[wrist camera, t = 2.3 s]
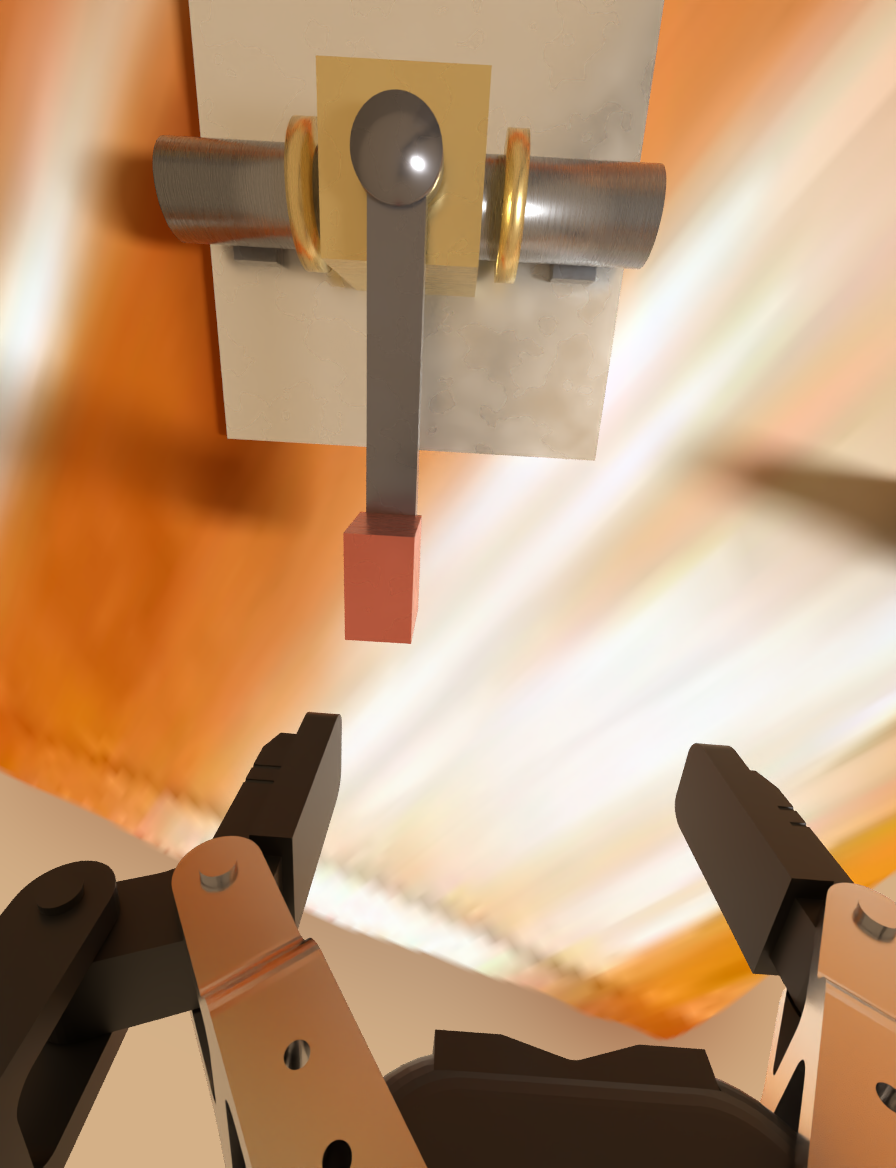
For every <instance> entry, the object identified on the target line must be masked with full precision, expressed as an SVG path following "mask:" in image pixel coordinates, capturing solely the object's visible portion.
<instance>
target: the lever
mask: <svg viewBox="0 0 896 1168" xmlns="http://www.w3.org/2000/svg"><path fill="white" fill-rule="evenodd" d="M350 155H351V161H352V165H353V168H354V170H355V173H356V175H357V177H358V179H359V181H360V183H361V185H362V187H363V189H364V191H365V193H366V194H367V472H366V512H360V513H359V515H358V516H357V517H356V518H355V520H354V521H353V522H352V523H351V524H350V526H349V527H348V528H347V529H346V531H345V532H344V600H345V640H359V641H375V642H391V643H407V644H411V641H412V636H413V631H414V626H415V621H416V616H417V611H418V596H419V570H420V544H421V518H422V516H421V515H417V497H418V469H419V440H420V412H421V384H422V356H423V327H424V299H425V271H426V243H427V214H428V204H429V203H430V202H431V201H432V200H433V198H434V197H435V195H436V194H437V192H438V190H439V187H440V185H441V182H442V178H443V172H444V155H443V143H442V135H441V131H440V127H439V124H438V122H437V119H436V117H435V115H434V114H433V112H432V111H431V109H430V108H429V107H428V105H427V104H426V103H425V102H424V101H423V100H422V99H420V98H419V97H418V96H416V95H414V94H412V93H410V92H408V91H404V90H398V89H391V90H386V91H383V92H380V93H378V94H376V95H374V96H373V97H371V98H370V99H369V100H368V101H367V102H366V103H365V104H364V105H363V106H362V107H361V109H360V110H359V112H358V114H357V115H356V117H355V120H354V122H353V126H352V129H351V135H350Z"/></svg>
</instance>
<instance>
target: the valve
mask: <svg viewBox="0 0 896 1168" xmlns="http://www.w3.org/2000/svg"><path fill="white" fill-rule="evenodd" d="M663 5H664V0H189V11H190V22H191V34H192V45H193V56H194V68H195V79H196V90H197V101H198V113H199V124H200V135H201V137H187V136H169V135H162V136H160V137H159V138H158V139H157V141H156V143H155V146H154V151H153V176H154V183H155V188H156V193H157V197H158V200H159V204H160V207H161V210H162V212H163V215H164V217H165V219H166V222H167V224H168V225H169V227H170V229H171V231H172V232H173V233H174V235H175V236H176V237H177V238H178V239H179V240H180V241H182V242H184V243H196V244H210V248H211V259H212V271H213V282H214V293H215V304H216V316H217V327H218V338H219V350H220V361H221V372H222V383H223V395H224V406H225V417H226V429H227V438H228V439H245V440H261V441H278V442H295V443H311V444H328V445H345V446H361V447H367V194H366V193H365V191H364V189H363V187H362V185H361V183H360V181H359V179H358V177H357V175H356V173H355V170H354V168H353V165H352V161H351V155H350V135H351V129H352V126H353V122H354V120H355V117H356V115H357V114H358V112H359V110H360V109H361V107H362V106H363V105H364V104H365V103H366V102H367V101H368V100H369V99H370V98H371V97H373V96H374V95H376V94H378V93H380V92H383V91H386V90H391V89H398V90H404V91H408V92H410V93H412V94H414V95H416V96H418V97H419V98H420V99H422V100H423V101H424V102H425V103H426V104H427V105H428V107H429V108H430V109H431V111H432V112H433V114H434V115H435V117H436V119H437V122H438V124H439V127H440V131H441V135H442V143H443V155H444V172H443V178H442V182H441V185H440V187H439V190H438V192H437V194H436V195H435V197H434V198H433V200H432V201H431V202H430V203H429V204H428V214H427V243H426V271H425V299H424V327H423V356H422V384H421V412H420V440H419V450H428V451H445V452H461V453H478V454H495V455H511V456H528V457H545V458H561V459H578V460H595V456H596V450H597V443H598V436H599V430H600V423H601V417H602V410H603V403H604V397H605V390H606V383H607V377H608V370H609V363H610V357H611V350H612V344H613V337H614V330H615V324H616V317H617V310H618V304H619V297H620V290H621V284H622V277H623V271H624V268H627V269H640V268H641V267H642V266H643V265H644V264H645V262H646V261H647V259H648V257H649V255H650V252H651V250H652V247H653V245H654V242H655V239H656V236H657V232H658V229H659V225H660V221H661V216H662V211H663V206H664V200H665V191H666V171H665V167H664V165H663V164H660V163H643V162H640V158H641V151H642V144H643V138H644V131H645V125H646V118H647V111H648V105H649V98H650V91H651V85H652V78H653V71H654V65H655V58H656V52H657V45H658V38H659V32H660V25H661V18H662V12H663Z"/></svg>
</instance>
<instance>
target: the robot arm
mask: <svg viewBox="0 0 896 1168" xmlns="http://www.w3.org/2000/svg"><path fill="white" fill-rule="evenodd" d="M341 735H342V720H341V715H340V714H328V713H315V712H307V713H306V715H305V717H304V719H303V721H302V723H301V726H300V728H299V730H298V732H297V734H290V733H280V734H279V735H277V736H276V737H275V738H274V739H272V740H271V741H270V742H269V743H267V744H266V745H265V746H264V747H263V748H262V750H261V752H260V754H259V755H258V757H257V759H256V761H255V763H254V766H253V768H251V770H250V772H249V774H248V775H247V777H246V781H245V782H244V783H243V784H242V786H241V788H240V790H239V792H238V794H237V795H236V797H235V799H234V801H233V803H232V805H231V806H230V808H229V810H228V812H227V814H226V815H225V817H224V819H223V821H222V823H221V825H220V826H219V828H218V830H217V832H216V834H215V835H214V837H213V839H211V840H208V841H206V842H204V843H202V844H200V845H198V846H197V847H195V848H194V849H192V850H191V851H190V852H188V853H187V854H186V855H185V856H184V857H183V858H182V860H181V861H180V862H179V863H178V865H177V867H176V868H175V869H172V870H169V871H166V872H162V873H158V874H154V875H149V876H144V877H138V878H134V879H128V880H123V881H118V882H116V879H115V875H114V873H113V871H112V869H110V867H109V866H107V865H105V864H103V863H100V862H97V861H79V862H73V863H69V864H66V865H62V866H60V867H57V868H55V869H52V870H50V871H48V872H46V873H44V874H43V875H41V876H39V877H38V878H36V879H35V880H33V881H32V882H31V883H29V884H28V885H27V886H26V887H25V888H24V889H22V890H21V891H20V893H18V894H17V896H16V897H15V898H14V899H13V900H12V901H11V903H10V904H9V905H8V907H7V908H6V909H5V910H4V912H3V913H2V914H1V915H0V1168H64V1166H65V1164H66V1162H67V1160H68V1158H69V1155H70V1153H71V1151H72V1149H73V1147H74V1145H75V1143H76V1140H77V1138H78V1136H79V1134H80V1132H81V1130H82V1127H83V1125H84V1123H85V1121H86V1119H87V1117H88V1114H89V1112H90V1110H91V1108H92V1106H93V1104H94V1101H95V1099H96V1097H97V1094H98V1093H99V1091H100V1088H101V1086H102V1084H103V1082H104V1080H105V1078H106V1075H107V1073H108V1071H109V1069H110V1067H111V1065H112V1062H113V1060H114V1058H115V1056H116V1054H117V1051H118V1050H119V1047H120V1045H121V1043H122V1041H123V1039H124V1037H125V1034H126V1032H127V1030H128V1028H129V1027H132V1026H136V1025H139V1024H143V1023H147V1022H150V1021H153V1020H158V1019H161V1018H165V1017H168V1016H172V1015H175V1014H179V1013H182V1012H186V1011H190V1014H191V1018H192V1022H193V1026H194V1030H195V1035H196V1039H197V1043H198V1047H199V1051H200V1055H201V1059H202V1063H203V1068H204V1071H205V1076H206V1079H207V1084H208V1087H209V1092H210V1096H211V1100H212V1104H213V1108H214V1113H215V1117H216V1122H217V1126H218V1131H219V1136H220V1141H221V1147H222V1152H223V1157H224V1162H225V1167H226V1168H896V903H895V902H894V901H892V900H891V899H889V898H888V897H886V896H884V895H882V894H881V893H879V892H877V891H874V890H872V889H870V888H867V887H864V886H861V885H858V884H854V883H853V881H852V880H851V879H850V878H849V876H848V875H847V874H846V873H845V871H844V870H843V869H842V868H841V866H840V865H839V864H838V863H837V861H836V860H835V859H834V858H833V856H832V855H831V854H830V853H829V851H828V850H827V849H826V848H825V846H824V845H823V844H822V843H821V841H820V840H819V839H818V838H817V836H816V835H815V834H814V833H813V831H812V830H811V829H810V828H809V827H806V823H805V821H804V820H803V819H802V818H801V816H800V815H799V814H798V813H797V811H794V810H793V806H792V805H791V804H790V803H789V801H788V800H787V799H786V798H785V796H784V795H783V794H782V793H781V791H780V790H779V789H778V788H777V787H776V786H775V785H773V784H772V783H771V782H769V781H768V780H767V779H766V778H764V777H763V776H762V775H760V774H759V773H758V772H756V771H751V770H749V768H748V767H747V766H746V764H745V763H744V762H743V760H742V759H741V758H740V756H739V755H738V754H737V753H736V751H735V750H734V749H733V748H732V747H730V746H724V745H711V744H699V743H695V744H693V745H692V746H691V748H690V749H689V752H688V756H687V759H686V763H685V766H684V770H683V773H682V777H681V780H680V784H679V787H678V791H677V794H676V799H675V812H676V818H677V822H678V825H679V827H680V829H681V831H682V833H683V835H684V837H685V839H686V841H687V843H688V845H689V847H690V849H691V851H692V853H693V855H694V857H695V859H696V861H697V863H698V865H699V867H700V869H701V871H702V873H703V875H704V877H705V879H706V881H707V883H708V885H709V887H710V889H711V891H712V893H713V895H714V897H715V899H716V901H717V903H718V905H719V907H720V909H721V911H722V913H723V915H724V917H725V919H726V921H727V923H728V925H729V927H730V929H731V931H732V933H733V935H734V937H735V939H736V941H737V943H738V945H739V947H740V949H741V951H742V953H743V955H744V957H745V959H746V961H747V963H748V965H749V967H750V969H751V971H752V973H753V974H766V975H779V976H780V977H781V979H782V981H783V983H784V984H785V988H784V991H783V993H782V995H781V998H780V1002H779V1008H778V1014H777V1019H776V1024H775V1030H774V1036H773V1041H772V1047H771V1053H770V1058H769V1063H768V1069H767V1074H766V1080H765V1085H764V1090H763V1094H762V1098H761V1102H759V1101H757V1100H756V1099H754V1098H752V1097H751V1096H749V1095H748V1094H746V1093H744V1092H743V1091H741V1090H740V1089H738V1088H736V1087H734V1086H732V1085H730V1084H728V1083H726V1082H724V1081H722V1080H719V1079H717V1078H715V1076H714V1073H713V1070H712V1068H711V1065H710V1062H709V1060H708V1057H707V1054H706V1052H705V1050H704V1049H691V1048H677V1047H664V1046H649V1045H636V1046H632V1047H628V1048H624V1049H621V1050H616V1051H613V1052H609V1053H605V1054H601V1055H598V1056H594V1057H590V1058H586V1059H582V1060H569V1059H566V1058H563V1057H560V1056H558V1055H555V1054H552V1053H550V1052H547V1051H544V1050H541V1049H539V1048H536V1047H533V1046H531V1045H528V1044H526V1043H523V1042H520V1041H518V1040H515V1039H512V1038H509V1037H507V1036H504V1035H501V1034H487V1033H473V1032H460V1031H446V1030H435V1037H434V1046H433V1054H432V1055H428V1056H424V1057H420V1058H417V1059H415V1060H413V1061H410V1062H408V1063H406V1064H403V1065H401V1066H400V1067H398V1068H396V1069H395V1070H393V1071H392V1072H390V1073H388V1074H387V1075H385V1076H384V1077H383V1076H382V1074H381V1072H380V1070H379V1068H378V1066H377V1064H376V1062H375V1060H374V1058H373V1056H372V1054H371V1052H370V1050H369V1048H368V1045H367V1044H366V1041H365V1039H364V1037H363V1035H362V1033H361V1031H360V1029H359V1027H358V1025H357V1023H356V1021H355V1019H354V1017H353V1015H352V1013H351V1011H350V1009H349V1007H348V1005H347V1003H346V1000H345V998H344V996H343V994H342V992H341V990H340V988H339V986H338V984H337V982H336V980H335V978H334V976H333V974H332V972H331V970H330V968H329V966H328V964H327V962H326V959H325V957H324V955H323V953H322V951H321V950H320V948H319V946H318V945H317V943H316V942H315V941H314V940H313V939H312V938H308V939H307V940H304V939H303V938H302V937H301V935H300V933H299V931H298V927H299V924H300V920H301V917H302V914H303V910H304V907H305V904H306V900H307V897H308V894H309V890H310V887H311V884H312V880H313V877H314V874H315V870H316V867H317V864H318V860H319V857H320V854H321V850H322V847H323V844H324V840H325V837H326V833H327V830H328V827H329V823H330V820H331V817H332V813H333V810H334V807H335V803H336V800H337V796H338V792H339V786H340V778H341Z"/></svg>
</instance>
